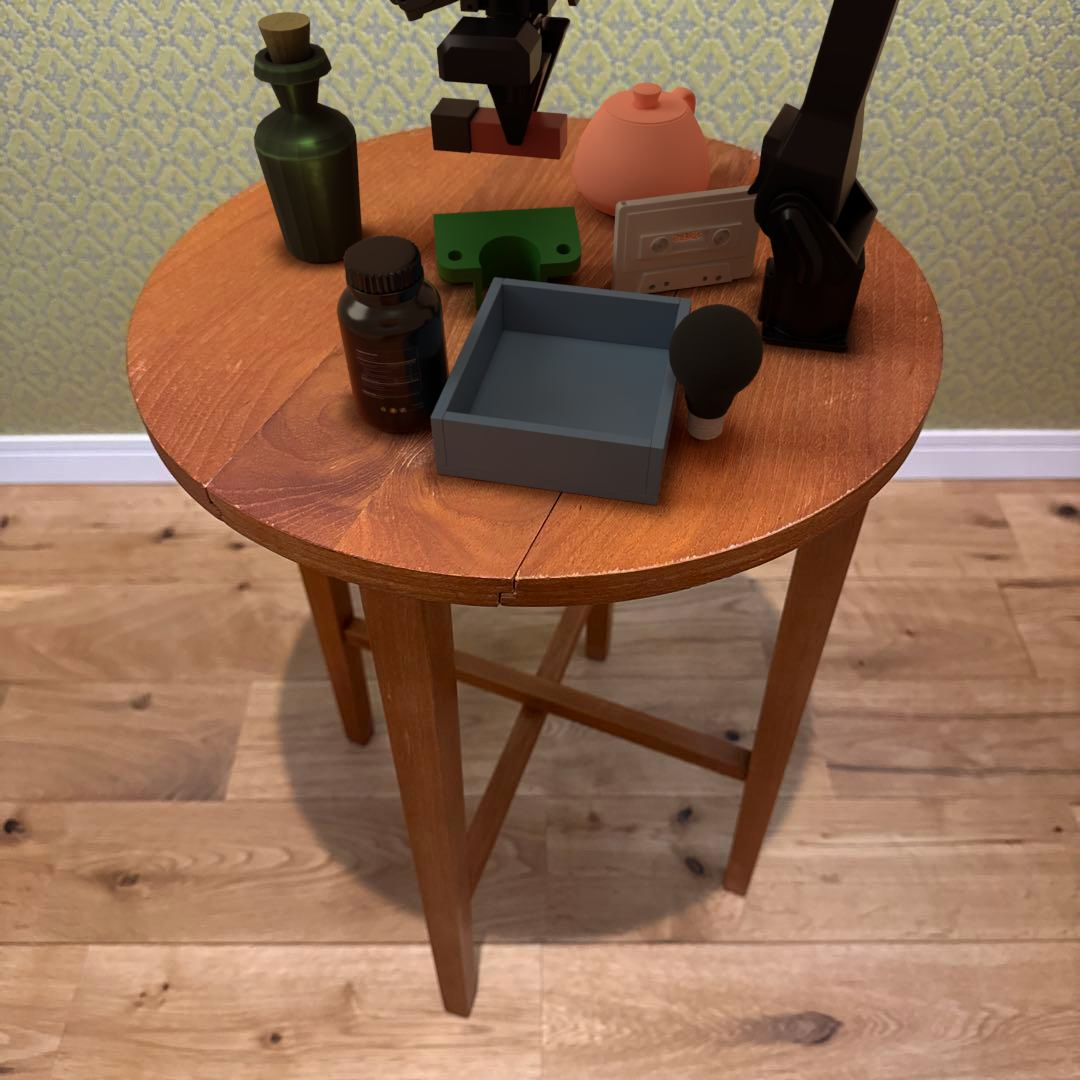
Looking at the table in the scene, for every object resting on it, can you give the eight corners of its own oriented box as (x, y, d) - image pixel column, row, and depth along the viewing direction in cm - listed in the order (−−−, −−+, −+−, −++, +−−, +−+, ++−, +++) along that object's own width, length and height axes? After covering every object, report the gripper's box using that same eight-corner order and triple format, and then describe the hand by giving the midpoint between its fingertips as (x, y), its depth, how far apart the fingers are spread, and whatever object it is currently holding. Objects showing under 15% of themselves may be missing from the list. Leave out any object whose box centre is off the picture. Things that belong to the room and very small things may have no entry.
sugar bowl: (545, 204, 89) (544, 90, 81) (636, 152, 96) (643, 42, 89) (653, 249, 83) (664, 130, 76) (741, 189, 91) (759, 76, 83)
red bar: (568, 143, 76) (568, 106, 74) (559, 161, 73) (559, 124, 71) (445, 132, 77) (442, 97, 75) (433, 150, 75) (429, 114, 73)
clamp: (468, 348, 81) (416, 278, 73) (463, 294, 84) (412, 222, 76) (603, 299, 77) (563, 221, 70) (593, 245, 80) (554, 165, 73)
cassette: (746, 268, 81) (760, 180, 76) (754, 279, 80) (770, 191, 74) (608, 287, 79) (613, 198, 74) (615, 299, 78) (620, 210, 72)
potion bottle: (344, 276, 80) (305, 47, 67) (259, 259, 82) (204, 33, 69) (388, 230, 86) (359, 9, 73) (307, 214, 88) (264, -3, 75)
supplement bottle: (363, 375, 71) (337, 224, 62) (456, 376, 71) (443, 225, 62) (347, 435, 66) (317, 281, 58) (446, 437, 66) (431, 283, 58)
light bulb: (686, 476, 64) (704, 349, 56) (644, 423, 67) (656, 298, 60) (762, 452, 65) (789, 326, 58) (717, 402, 69) (737, 277, 62)
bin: (685, 354, 73) (692, 298, 69) (657, 505, 62) (663, 448, 58) (496, 331, 75) (494, 276, 71) (436, 474, 64) (430, 417, 60)
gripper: (436, -141, 71) (453, 81, 82) (344, -68, 58) (379, 182, 69) (586, -135, 69) (582, 90, 80) (524, -59, 56) (530, 196, 68)
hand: (519, 135), depth 74 cm, fingers closed on red bar, 3 cm apart
